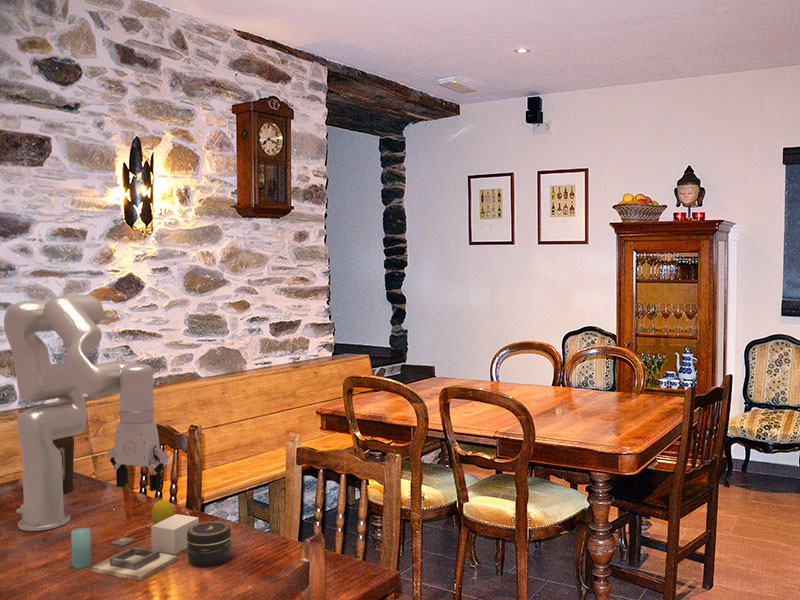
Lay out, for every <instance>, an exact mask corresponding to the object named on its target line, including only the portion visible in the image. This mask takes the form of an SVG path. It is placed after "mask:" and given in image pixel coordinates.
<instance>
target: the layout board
mask: <svg viewBox="0 0 800 600" xmlns="http://www.w3.org/2000/svg"><path fill="white" fill-rule="evenodd" d="M176 560H177V561H178V556H177V555H174V554H168V553H163V552H159V551H155V550H152V549H149V548H143V547H137V546H133V547H129V548H126V549H124V550H123V551H121V552H119V553H117V554H114V555H113V556H110V557H109V558H107V559H105V560H103V561H101V562H99V563H97V564H95V565H93V566H91V572H93V573H97V574H103V575H108V576H113V577H118V578H123V579H127V578H128V579H129V580H132V579H133V581H137V580H138V582H141V580H142V581H143V580H145V579H146V578H149V577H150V576H152V575H153V574H156V573H157V572H159V571H161V570H162V569H164V568H166V567H168V566H169V565H171V564H173V563H174V562H177V561H176Z"/></svg>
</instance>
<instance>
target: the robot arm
mask: <svg viewBox="0 0 800 600" xmlns="http://www.w3.org/2000/svg"><path fill="white" fill-rule="evenodd" d="M4 313H5V314H4V317H3V329H4V333H5V337H6V339H7V342H8V344H9V346H10V349H11V351H12V356H13V363H14V370H15V371H14V372H15V378H16V383H17V390H18V394H19V397H20V398H21V399H22V401H25V402H29V403H35V402H43V401H50V400H54V399H55V400H56V399H58V403H52V404H45V405H41V406H34V407H31V408H29V409H26V410H24V411H23V412H22V413H21V414H20V415H19V416H18V418H17V420H16V431H17V435H18V439H19V444H20V450H21V461H22V465H21V466H22V488H23V491H22V493H23V503H22V504H21V505H20V507H19V508H17V509H16V514H19V515H20V514H21V519H20V520H19V521H18V523H17V528H18V529H19V530H21V531H24V532H39V531H48V530H52V529H55V528H59V527H62V526H64V525H66V524H67V523H69V522H70V520H71V514H70V513H69V512H67V511H66V512H65V510H64V494H63V475H62V456H61V453H60V451H59V450H58V449H57V448H56V446H55V445H54V444H53V440H56V439H60V438H64V437H69V436H73V437H74V436H75V435H76V436H77V435H79V434H80V433H82V432H83V431H84V429H86V426H87V409H86V403H85V397H84V396H85V395H87V396H89V397H100V396H105V395H112V394H118V393H119V410H118V411H117V416H119V417H120V419H119V422H117V425H116V429H115V430H116V431H115V436H114V446H113V447H111V448H109V449H108V450H106V451H107V454H108V457H109V459H110V460H109V462H110V463H111V464H112V466H113V470H114V471H116V475H115V478H116V480H115V481H116V487H117V488H120V487H121V488H122V487H123V486H125V485H127V484H128V483H129V478H128V477H129V473H128V472H129V471H128V467H127V466H130V467H136V468H139V467H140V468H146V467H147V469H148V470H149V472H150V474H149V476H148V477H149V481H148V482H149V491H150V492H155V491H157V490H159V489H161V486H162V485H161V484H162V481H161V480H162V478H161V473H162V472H164V470H165V468H166V467H167V466H168V465H167V464H168V462H169V460H170V455H169V454H168V453H166V452H165V451H164V450H162V449H160V437H159V432H158V428H157V427H158V426H157V423H156V421H155V418H154V417H155V414H154V413H155V412H154V411H155V410H154V409H155V407H154V405H155V404H154V398H155V397H154V370H153V368H152V365H149V364H146V363H145V364H143V363H136V362H133V361H130V360H121V361H110V362H103V363H96V364H93V363H92V362H91V361H90V360H89V359H88V358H87V356H86V355H88V354H89V353H91V352H92V351H93V350H95V348H97V346H99V345H100V342H101V340H102V337H103V336H102V334H103V333H102V330H101V329H100V328H99V327H98V326H97V325H99V324H100V323H101V322H102V320H103V318H104V307H103V304H102V303H101V301H100V300H99V299H98V298H97V297H95V296H94V295H90V294H73V295H72V294H71V295H59V296H55V297H52V298H50V299H37V300H36V299H35V300H24V301H19V302H16V303H13V304H12V305H10V306H9V307H8V308H7V309H6V311H5V312H4ZM40 332H41V333H43V332H55V333H56V334H57V336H58V337H59V338H60V339H61V340H62V341H63V343H64V344H65V346H67V348H68V350H67V352H66V358H65V359H66V361H65V362H58V363H52V362H51V360H50V353H49V349H48V346H47V344H46V343H45V342H44V341H43V338H41V337H40V336H38V335H37V333H40ZM84 394H85V395H84Z"/></svg>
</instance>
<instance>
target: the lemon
mask: <svg viewBox="0 0 800 600" xmlns="http://www.w3.org/2000/svg"><path fill="white" fill-rule="evenodd" d="M150 513H151V517H150V518H151V520H152V524H153V525H155V524H157V523H159V522H161V521H163V520H165V519H167V518H169V517H171V516H173V515H175V511H174V507H173V505H172V503H171V502H170V501H169V500H166V499H164V498H161V499H159V500H158V501H156V502H155V503H154V504H153V506H152V508H151V512H150Z"/></svg>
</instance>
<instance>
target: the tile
mask: <svg viewBox="0 0 800 600" xmlns="http://www.w3.org/2000/svg"><path fill="white" fill-rule="evenodd" d="M134 542H136V539H135V538H130V537H124V536H122V537H120V538H118V539H116V540H113V541H112V542H110V545H113V546H119V547H126V546H128V545H130V544H131V543H134ZM125 545H126V546H125Z"/></svg>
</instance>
